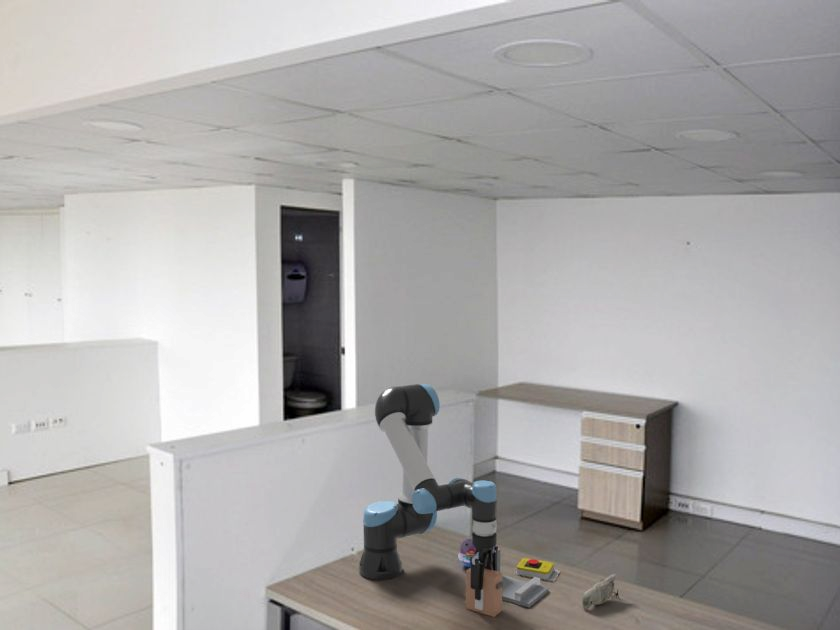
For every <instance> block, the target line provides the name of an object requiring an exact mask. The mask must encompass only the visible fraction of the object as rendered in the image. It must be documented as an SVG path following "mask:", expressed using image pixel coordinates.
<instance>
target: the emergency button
mask: <svg viewBox="0 0 840 630" xmlns="http://www.w3.org/2000/svg"><path fill="white" fill-rule="evenodd" d="M516 567H517V571H516V574H518V575H517V576H520V575H522V576H521V577H526V576H527V578H531V577H533V578H534V577H537V578H540V580H542V579H544V580H543V581H550V582H555V581H556V580H557V579H558V576H559V575H560V573H561V571H560V570H559V569H555V563H554V562H552V561H545V560H540V559H534V558H528V557H523V558H522V559H521V560H520V561H519V563H518V564H517V566H516ZM558 570H559V571H558ZM558 574H559V575H558ZM533 578H532V579H533Z"/></svg>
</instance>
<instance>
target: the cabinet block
mask: <svg viewBox="0 0 840 630" xmlns="http://www.w3.org/2000/svg"><path fill="white" fill-rule="evenodd" d="M502 575H503V572H501V571H500V572H497V571H494V570H489V569H485V570H484V575H483V586H482V589H484V610H483V611H482V610H479V609H476V608H475V589H471V587H470V586H471V568H469V567H468V569H466V570H465V608H466V609H468V610H470V611H474V612H478V613H481V614H483V615H487V616H490V617H493V618H494V617H496V616H497V615H499V614H500V612H502V611H503V600H502V586H503V582H502Z"/></svg>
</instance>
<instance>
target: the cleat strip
mask: <svg viewBox="0 0 840 630" xmlns="http://www.w3.org/2000/svg"><path fill="white" fill-rule="evenodd" d="M526 582H527V583H526V584H525V585H524V586H522V587H521V588H520V589H518V590H517V591H516V592H515V600H517V601H522V600H523V599H524V598H525V597H526V596H528V595H529V594H530V593H531V592H533V591H534V590H535V589H536V588H538V587H539V586H541V579H540V578H537V577H534V578H532V579H531V578H530V580H528V581H526Z"/></svg>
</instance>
